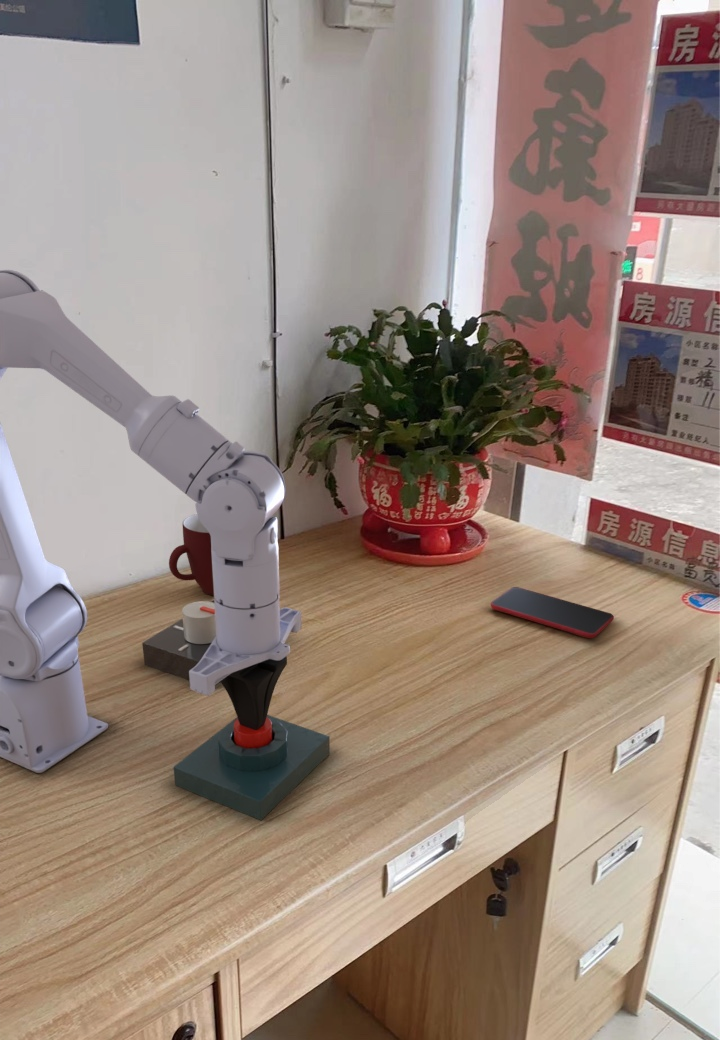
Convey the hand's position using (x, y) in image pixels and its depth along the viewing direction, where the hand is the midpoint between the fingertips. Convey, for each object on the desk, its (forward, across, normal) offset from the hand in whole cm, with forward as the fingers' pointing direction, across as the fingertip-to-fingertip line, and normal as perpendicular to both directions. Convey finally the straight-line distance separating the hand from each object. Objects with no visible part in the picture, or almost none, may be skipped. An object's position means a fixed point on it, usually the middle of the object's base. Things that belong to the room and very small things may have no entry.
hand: (252, 724), depth 84 cm
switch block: (+5, 0, 0) cm, 5 cm away
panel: (+5, +17, +18) cm, 25 cm away
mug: (+6, +30, +29) cm, 42 cm away
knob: (+2, +15, +18) cm, 23 cm away
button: (+2, 0, 0) cm, 2 cm away
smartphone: (+5, +48, -14) cm, 50 cm away
